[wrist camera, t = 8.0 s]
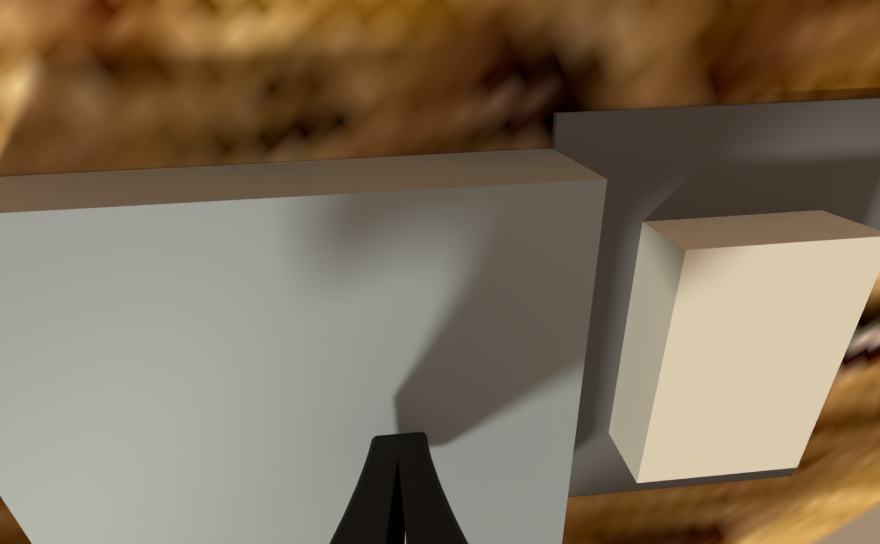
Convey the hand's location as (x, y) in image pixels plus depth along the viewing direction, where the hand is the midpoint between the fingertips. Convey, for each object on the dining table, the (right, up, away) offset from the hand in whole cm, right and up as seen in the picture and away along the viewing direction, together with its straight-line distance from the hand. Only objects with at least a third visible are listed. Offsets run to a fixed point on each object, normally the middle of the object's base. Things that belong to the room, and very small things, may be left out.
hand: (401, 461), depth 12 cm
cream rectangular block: (+11, +2, +2) cm, 11 cm away
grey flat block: (-3, +2, +4) cm, 6 cm away
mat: (+11, +3, +5) cm, 12 cm away
